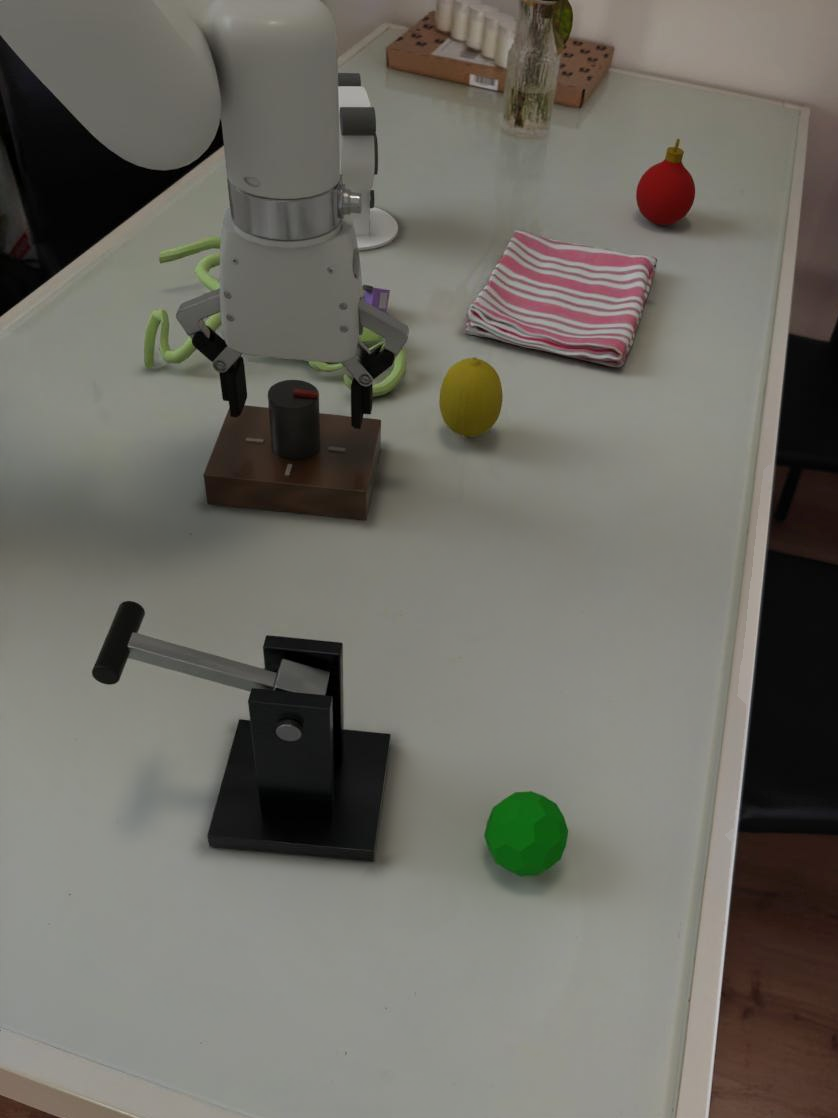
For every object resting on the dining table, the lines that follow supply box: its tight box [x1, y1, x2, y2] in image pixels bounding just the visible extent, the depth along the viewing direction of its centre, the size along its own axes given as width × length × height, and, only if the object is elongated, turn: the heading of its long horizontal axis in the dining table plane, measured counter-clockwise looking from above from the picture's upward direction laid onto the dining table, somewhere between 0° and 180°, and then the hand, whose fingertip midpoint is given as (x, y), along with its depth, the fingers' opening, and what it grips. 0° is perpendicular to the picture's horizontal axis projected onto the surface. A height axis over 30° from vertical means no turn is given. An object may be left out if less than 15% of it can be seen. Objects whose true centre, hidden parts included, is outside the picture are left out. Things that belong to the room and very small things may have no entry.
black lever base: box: [206, 634, 392, 863], centre depth 61 cm, size 10×9×12 cm
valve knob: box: [267, 379, 321, 460], centre depth 83 cm, size 4×4×5 cm
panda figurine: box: [338, 72, 399, 252], centre depth 113 cm, size 12×11×15 cm
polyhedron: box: [483, 790, 569, 877], centre depth 62 cm, size 5×5×5 cm
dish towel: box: [464, 229, 658, 368], centre depth 110 cm, size 17×23×4 cm
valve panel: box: [202, 404, 382, 521], centre depth 86 cm, size 13×10×3 cm
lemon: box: [438, 357, 504, 439], centre depth 90 cm, size 6×6×8 cm
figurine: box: [143, 235, 408, 398], centre depth 100 cm, size 18×27×6 cm
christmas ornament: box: [635, 138, 696, 226], centre depth 124 cm, size 7×7×10 cm
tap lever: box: [91, 600, 330, 695], centre depth 57 cm, size 12×5×2 cm, turn 87°
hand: (298, 413), depth 83 cm, fingers open, 9 cm apart
